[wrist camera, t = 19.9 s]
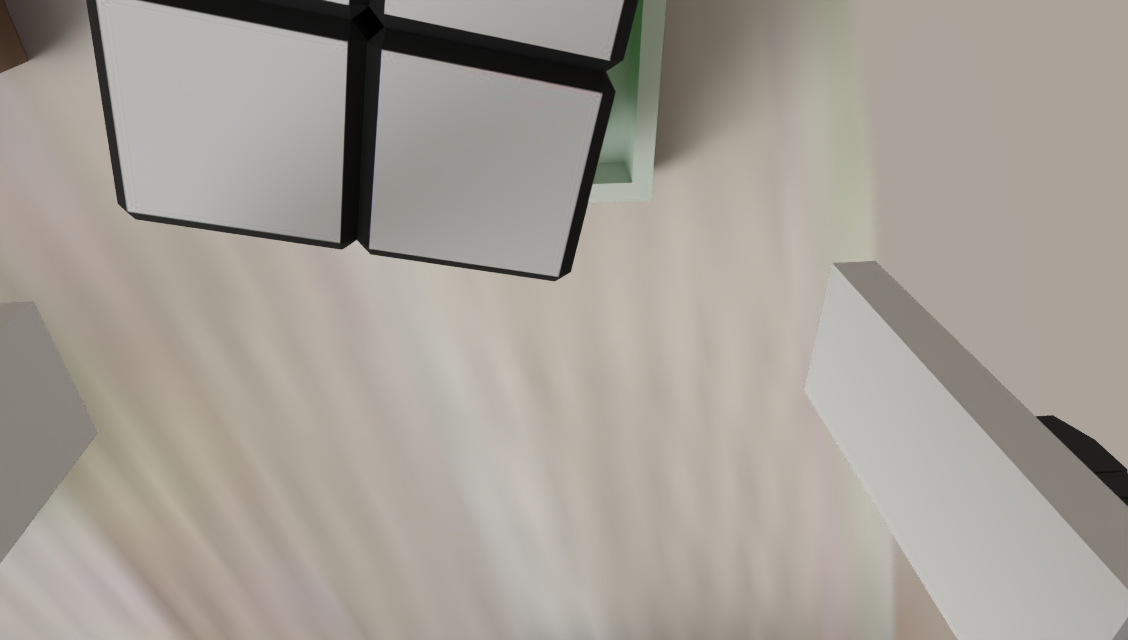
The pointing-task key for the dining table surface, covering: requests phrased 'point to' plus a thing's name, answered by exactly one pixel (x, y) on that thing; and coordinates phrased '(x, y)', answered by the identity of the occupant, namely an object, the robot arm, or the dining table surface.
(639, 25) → the tray
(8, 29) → the bored block
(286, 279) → the dining table surface
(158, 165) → the puzzle cube
